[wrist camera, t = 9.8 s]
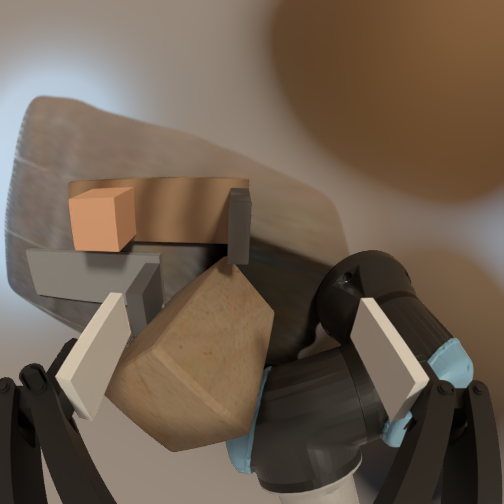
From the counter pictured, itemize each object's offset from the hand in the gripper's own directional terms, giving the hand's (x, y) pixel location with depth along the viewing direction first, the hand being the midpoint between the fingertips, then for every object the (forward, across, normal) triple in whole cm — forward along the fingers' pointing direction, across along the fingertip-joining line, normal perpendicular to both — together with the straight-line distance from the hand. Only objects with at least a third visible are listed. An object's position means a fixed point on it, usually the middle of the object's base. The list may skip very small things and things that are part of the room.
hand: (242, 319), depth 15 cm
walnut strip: (+22, +11, -1) cm, 24 cm away
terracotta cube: (+20, +16, -1) cm, 26 cm away
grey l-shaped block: (+22, +22, +9) cm, 32 cm away
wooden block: (+20, +2, +12) cm, 23 cm away
